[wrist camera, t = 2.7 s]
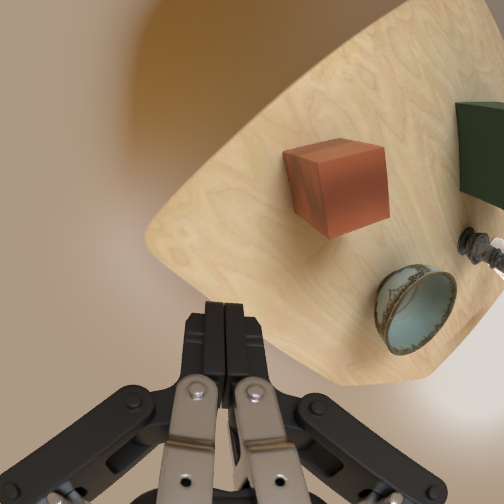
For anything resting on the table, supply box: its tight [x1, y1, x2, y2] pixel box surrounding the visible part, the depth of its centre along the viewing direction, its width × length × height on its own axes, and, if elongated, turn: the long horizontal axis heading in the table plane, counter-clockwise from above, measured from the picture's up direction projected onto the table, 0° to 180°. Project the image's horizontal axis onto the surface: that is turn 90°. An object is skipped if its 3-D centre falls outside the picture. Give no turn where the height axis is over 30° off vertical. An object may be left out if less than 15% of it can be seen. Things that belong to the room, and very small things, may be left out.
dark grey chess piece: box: [458, 227, 504, 273], centre depth 39 cm, size 6×6×12 cm
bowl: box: [374, 264, 457, 355], centre depth 39 cm, size 14×13×8 cm
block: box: [283, 138, 390, 239], centre depth 29 cm, size 7×7×8 cm
